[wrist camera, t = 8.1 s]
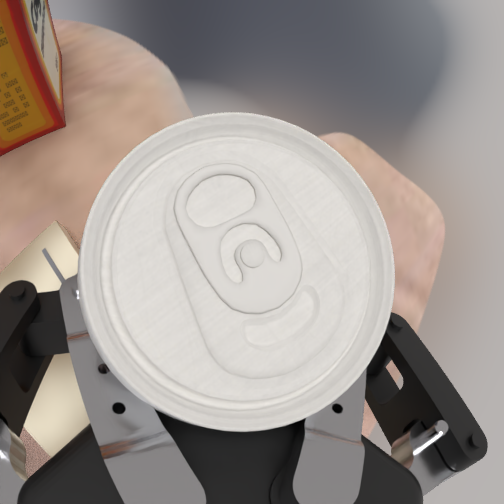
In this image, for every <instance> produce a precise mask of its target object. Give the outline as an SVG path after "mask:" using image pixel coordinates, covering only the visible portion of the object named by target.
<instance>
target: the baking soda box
mask: <svg viewBox="0 0 504 504" xmlns="http://www.w3.org/2000/svg"><path fill="white" fill-rule="evenodd" d="M65 126H66V124H65V114H64V103H63V87H62V55H61V52H60V48H59V45H58V41H57V37H56V33H55V29H54V25H53V21H52V17H51V13H50V8H49V4H48V0H0V156H1V155H3V154H5V153H7V152H9V151H11V150H13V149H15V148H17V147H19V146H21V145H24V144H26V143H28V142H30V141H32V140H34V139H37V138H39V137H41V136H43V135H46V134H48V133H50V132H53V131H55V130H58V129H60V128H63V127H65Z"/></svg>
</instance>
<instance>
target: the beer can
mask: <svg viewBox="0 0 504 504" xmlns="http://www.w3.org/2000/svg"><path fill="white" fill-rule="evenodd" d="M77 282H78V293H79V301H80V305H81V310H82V314H83V319H84V321H85V324H86V327H87V330H88V332H89V335H90V338H91V340H92V342H93V343H94V345H95V347H96V349H97V351H98V353H99V355H100V356H101V358H102V359H103V361H104V362H105V364H106V365H107V367H108V368H109V369H110V371H111V372H112V373H113V374H114V375H115V377H116V378H117V379H118V380H119V381H120V382H121V383H122V384H123V385H124V386H125V387H126V388H127V389H128V390H129V391H130V392H132V393H133V394H134V395H135V396H137V397H138V398H139V399H141V400H142V401H144V402H146V403H148V404H149V405H151V406H153V407H154V409H155V410H157V411H159V412H161V413H163V414H165V415H168V416H170V417H172V418H174V419H177V420H180V421H183V422H186V423H189V424H192V425H197V426H202V427H206V428H211V429H217V430H223V431H237V432H249V431H261V430H268V429H273V428H277V427H282V426H285V425H288V424H291V423H294V422H297V421H300V420H302V419H304V418H306V417H308V416H310V415H312V414H314V413H316V412H318V411H320V410H321V409H323V408H324V407H326V406H328V405H329V404H331V403H332V402H333V401H335V400H336V399H337V398H338V397H339V396H341V395H342V394H343V393H344V392H345V391H347V390H348V388H349V387H350V386H351V385H352V384H353V383H354V382H355V381H356V380H357V379H358V378H359V377H360V375H361V374H362V373H363V371H364V370H365V369H366V367H367V366H368V364H369V363H370V361H371V360H372V358H373V356H374V354H375V353H376V351H377V349H378V347H379V345H380V343H381V340H382V338H383V336H384V334H385V331H386V328H387V324H388V321H389V318H390V314H391V309H392V304H393V297H394V287H395V267H394V257H393V250H392V245H391V240H390V236H389V232H388V229H387V226H386V223H385V220H384V217H383V215H382V213H381V210H380V208H379V206H378V204H377V202H376V200H375V198H374V196H373V195H372V193H371V191H370V189H369V188H368V186H367V185H366V184H365V182H364V181H363V179H362V178H361V176H360V175H359V174H358V173H357V172H356V170H355V169H354V168H353V167H352V166H351V165H350V164H349V163H348V162H347V161H346V160H345V159H344V158H343V157H342V156H341V155H340V154H339V153H338V152H337V151H336V150H334V149H333V148H332V147H331V146H329V145H328V144H327V143H325V142H324V141H322V140H321V139H319V138H318V137H316V136H315V135H313V134H311V133H309V132H308V131H306V130H304V129H302V128H300V127H298V126H295V125H293V124H290V123H287V122H285V121H282V120H279V119H276V118H272V117H268V116H264V115H257V114H251V113H236V112H230V113H214V114H208V115H202V116H197V117H194V118H190V119H186V120H183V121H180V122H178V123H176V124H173V125H171V126H168V127H166V128H164V129H162V130H161V131H159V132H157V133H155V134H153V135H152V136H150V137H149V138H147V139H146V140H144V141H143V142H142V143H140V144H139V145H138V146H136V147H135V148H134V149H133V150H132V151H131V152H130V153H129V154H128V155H127V156H125V157H124V158H123V159H122V160H121V162H120V163H119V164H118V165H117V166H116V168H115V169H114V170H113V171H112V172H111V174H110V175H109V176H108V178H107V180H106V181H105V183H104V184H103V186H102V187H101V189H100V191H99V193H98V195H97V197H96V199H95V201H94V203H93V205H92V208H91V210H90V213H89V216H88V219H87V222H86V226H85V229H84V233H83V237H82V240H81V245H80V251H79V257H78V273H77Z"/></svg>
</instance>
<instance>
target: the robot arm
mask: <svg viewBox="0 0 504 504" xmlns="http://www.w3.org/2000/svg"><path fill="white" fill-rule="evenodd" d="M65 353H70V356H71V360H72V364H73V368H74V372H75V376H76V379H77V383H78V386H79V390H80V393H81V396H82V400H83V403H84V406H85V409H86V412H87V415H88V418H89V421H90V423H89V424H88V425H87V426H86V427H85V428H84V429H83V430H82V431H81V432H80V433H78V434H77V435H76V436H75V437H74V438H73V439H72V440H71V441H70V442H69V443H67V444H66V445H65V446H64V447H63V448H62V449H61V450H60V451H59V452H57V453H56V454H55V455H54V456H53V457H52V458H51V459H50V460H48V461H47V462H46V463H45V464H44V465H43V466H42V467H41V468H40V469H38V470H37V471H36V472H35V473H34V474H33V475H32V476H30V477H29V478H28V476H27V473H26V469H25V462H26V450H25V446H24V444H23V442H22V441H21V439H20V438H19V437H20V434H21V431H22V429H23V426H24V423H25V421H26V418H27V416H28V413H29V410H30V408H31V406H32V403H33V401H34V398H35V396H36V394H37V391H38V389H39V387H40V384H41V382H42V380H43V378H44V376H45V373H46V371H47V369H48V367H49V365H50V363H51V361H52V359H53V356H54V355H56V354H65ZM391 360H392V361H393V362H394V364H395V365H396V367H397V368H398V370H399V372H400V373H401V375H402V377H403V381H404V382H403V387H402V388H401V390H399V388H398V386H397V385H396V383H395V381H394V380H393V378H392V377H391V375H390V373H389V372H388V370H387V369H386V366H387V365H388V363H389V362H390V361H391ZM365 399H366V401H367V403H368V405H369V407H370V409H371V410H372V412H373V414H374V416H375V418H376V420H377V421H378V423H379V425H380V427H381V429H382V431H383V432H384V434H385V436H386V438H387V440H388V442H389V444H390V445H391V447H392V448H391V454H392V455H391V456H389V455H388V454H387V453H385V452H384V451H383V450H381V449H380V448H379V447H377V446H376V445H375V444H373V443H372V442H371V441H370V440H368V439H367V438H366V437H364V436H363V435H362V434H361V432H362V423H363V413H364V401H365ZM486 452H487V439H486V437H485V435H484V433H483V431H482V430H481V428H480V426H479V425H478V423H477V421H476V420H475V418H474V417H473V415H472V413H471V412H470V410H469V409H468V407H467V406H466V404H465V403H464V401H463V400H462V398H461V397H460V395H459V394H458V392H457V391H456V389H455V388H454V386H453V385H452V383H451V382H450V381H449V379H448V378H447V376H446V375H445V373H444V372H443V370H442V369H441V367H440V366H439V365H438V363H437V362H436V360H435V359H434V358H433V356H432V355H431V354H430V352H429V351H428V349H427V348H426V347H425V345H424V344H423V343H422V341H421V340H420V338H419V337H418V336H417V334H416V333H415V332H414V330H413V329H412V328H411V327H410V325H409V324H408V323H407V321H406V320H405V319H404V318H402V317H401V316H399V315H397V314H395V313H392V312H391V314H390V318H389V321H388V324H387V328H386V331H385V334H384V336H383V338H382V340H381V343H380V345H379V347H378V349H377V351H376V353H375V354H374V356H373V358H372V360H371V361H370V363H369V364H368V366H367V367H366V369H365V370H364V371H363V373H362V374H361V375H360V377H359V378H358V379H357V380H356V381H355V382H354V383H353V384H352V385H351V386H350V387H349V388H348V390H347V391H345V392H344V393H343V394H342V395H341V396H339V397H338V398H337V399H336V400H335V401H333V402H332V403H331V404H329V405H328V406H326V407H324V408H323V409H321V410H320V411H318V412H316V413H314V414H312V415H310V416H308V417H306V418H304V419H302V420H300V421H297V422H294V423H291V424H288V425H285V426H282V427H277V428H273V429H268V430H261V431H249V432H237V431H223V430H217V429H211V428H206V427H202V426H197V425H192V424H189V423H186V422H183V421H180V420H177V419H174V418H172V417H170V416H168V415H165V414H163V413H161V412H159V411H157V410H155V409H154V407H153V406H151V405H149V404H148V403H146V402H144V401H142V400H141V399H139V398H138V397H137V396H135V395H134V394H133V393H132V392H130V391H129V390H128V389H127V388H126V387H125V386H124V385H123V384H122V383H121V382H120V381H119V380H118V379H117V378H116V377H115V375H114V374H113V373H112V372H111V371H110V369H109V368H108V367H107V365H106V364H105V362H104V361H103V359H102V358H101V356H100V355H99V353H98V351H97V349H96V347H95V345H94V343H93V342H92V340H91V338H90V335H89V332H88V330H87V327H86V324H85V321H84V319H83V314H82V310H81V305H80V301H79V293H78V282H77V275H74V276H72V277H69V278H67V279H66V280H65V281H64V282H63V283H62V284H61V286H60V290H56V291H49V292H40V293H37V289H36V287H35V285H34V284H33V283H31V282H30V281H26V280H18V281H14V282H12V283H10V284H8V285H7V286H6V287H4V289H3V290H2V291H1V292H0V504H423V496H424V495H425V494H427V493H428V492H429V491H431V490H432V489H434V488H435V487H436V486H438V485H439V484H440V483H442V482H444V481H446V480H447V479H449V478H451V477H453V476H454V475H456V474H458V473H459V472H461V471H463V470H465V469H466V468H468V467H469V466H471V465H473V464H474V463H476V462H477V461H479V460H480V459H482V458H483V457H484V456H485V454H486Z"/></svg>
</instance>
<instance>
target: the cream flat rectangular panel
mask: <svg viewBox="0 0 504 504" xmlns="http://www.w3.org/2000/svg"><path fill="white" fill-rule="evenodd" d="M79 251H80V250H79V248H78V247H77V245H76V244H75V242H74V241H73V239H72V238H71V236H70V235H69V233H68V232H67V230H66V228H64V227H63V226H62V225H61V224H60V223H59V222H57V221H54V222H53V223H52V224H51V225H50V226H49V227H48V228H46V229H45V230H44V231H43V232H42V233H41V234H40V235H39V236H38V237H37V238H35V239H34V240H33V241H32V242H31V243H30V244H29V245H28V246H27V247H26V248H25V249H24V250H23V251H22V252H21V253H20V254H19V255H18V256H17V257H16V258H15V259H14V260H13V261H12V262H11V263H10V264H9V265H8V266H7V267H6V268H5V269H4V270H3V271H2V272H1V273H0V292H1V291H2V290H3V289H4V287H6V286H7V285H8V284H10V283H12V282H14V281H18V280H26V281H30V282H31V283H33V284H34V285H35V287H36V289H37V293H40V292H49V291H56V290H60V286H61V284H62V283H63V282H64V281H65V280H66V279H67V278H69V277H72V276H74V275H77V273H78V257H79ZM89 423H90V421H89V418H88V415H87V412H86V409H85V406H84V403H83V400H82V396H81V393H80V390H79V386H78V383H77V379H76V376H75V372H74V368H73V364H72V360H71V356H70V353H65V354H56V355H54V356H53V359H52V361H51V363H50V365H49V367H48V369H47V371H46V373H45V376H44V378H43V380H42V382H41V384H40V387H39V389H38V391H37V394H36V396H35V398H34V401H33V403H32V406H31V408H30V410H29V413H28V416H27V418H26V421H25V423H24V428H25V429H26V430H27V431H28V432H29V434H30V435H31V436H32V437H33V438H34V439H35V441H36V442H37V443H38V444H39V445H40V446H41V447H42V448H43V449H44V450H45V451H46V453H47V454H48V455H49V456H50V457H51V458H52V457H53V456H54V455H55V454H56V453H57V452H59V451H60V450H61V449H62V448H63V447H64V446H65V445H66V444H67V443H69V442H70V441H71V440H72V439H73V438H74V437H75V436H76V435H77V434H78V433H80V432H81V431H82V430H83V429H84V428H85V427H86V426H87V425H88V424H89Z"/></svg>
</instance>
